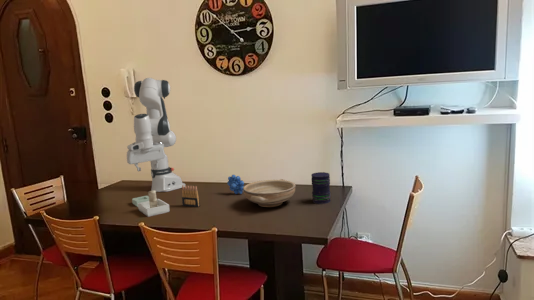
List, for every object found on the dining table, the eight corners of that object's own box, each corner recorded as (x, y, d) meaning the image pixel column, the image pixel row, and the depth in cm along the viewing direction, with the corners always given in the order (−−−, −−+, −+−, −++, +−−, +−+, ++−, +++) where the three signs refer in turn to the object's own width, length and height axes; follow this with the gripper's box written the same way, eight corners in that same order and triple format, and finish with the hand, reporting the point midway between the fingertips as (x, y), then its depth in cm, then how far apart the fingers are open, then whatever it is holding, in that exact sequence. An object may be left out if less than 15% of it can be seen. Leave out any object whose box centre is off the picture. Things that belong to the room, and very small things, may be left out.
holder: (147, 200, 252) (147, 195, 251) (152, 203, 245) (151, 198, 244) (132, 203, 247) (132, 198, 247) (137, 206, 240) (136, 201, 239)
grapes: (224, 195, 251) (223, 175, 249) (230, 192, 257) (228, 173, 255) (241, 196, 246) (240, 176, 244) (247, 193, 252) (245, 174, 250)
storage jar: (333, 199, 229) (332, 172, 226) (327, 204, 220) (326, 176, 218) (315, 198, 233) (314, 171, 231) (310, 203, 224) (308, 176, 222)
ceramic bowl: (261, 193, 251) (260, 176, 249) (306, 195, 239) (305, 178, 238) (231, 212, 218) (229, 193, 216) (281, 216, 206) (280, 196, 204)
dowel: (156, 207, 232) (154, 190, 230) (158, 209, 229) (156, 191, 227) (149, 209, 230) (147, 191, 228) (151, 210, 226) (149, 192, 225)
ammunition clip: (200, 206, 232) (198, 185, 230) (198, 207, 231) (196, 186, 229) (184, 204, 237) (182, 184, 235) (182, 205, 235) (180, 185, 233)
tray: (159, 205, 239) (158, 198, 238) (169, 211, 226) (169, 204, 225) (138, 210, 233) (137, 203, 232) (148, 216, 219) (147, 209, 219)
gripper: (161, 141, 233) (164, 165, 236) (124, 146, 222) (127, 172, 224) (165, 142, 228) (168, 166, 230) (127, 147, 217) (131, 173, 219)
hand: (147, 169), depth 227 cm, fingers open, 8 cm apart
